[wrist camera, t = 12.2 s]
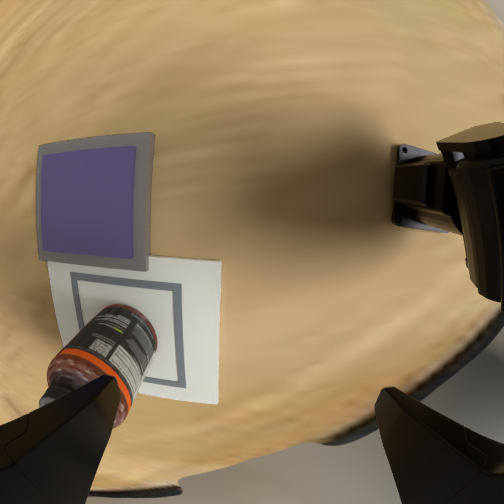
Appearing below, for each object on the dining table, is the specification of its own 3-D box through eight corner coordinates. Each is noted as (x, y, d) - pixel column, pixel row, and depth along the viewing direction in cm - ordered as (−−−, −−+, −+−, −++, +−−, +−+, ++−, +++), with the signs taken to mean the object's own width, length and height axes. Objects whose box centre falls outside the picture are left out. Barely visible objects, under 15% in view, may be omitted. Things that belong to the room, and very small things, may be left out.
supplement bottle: (109, 360, 22) (54, 444, 11) (90, 302, 20) (9, 375, 9) (167, 362, 22) (127, 465, 11) (151, 299, 20) (81, 392, 9)
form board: (222, 260, 20) (221, 262, 19) (218, 401, 23) (217, 405, 23) (48, 246, 19) (44, 248, 19) (73, 373, 23) (71, 376, 22)
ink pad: (155, 134, 18) (148, 131, 16) (150, 268, 20) (144, 273, 19) (45, 146, 17) (36, 145, 16) (45, 257, 20) (36, 261, 18)
